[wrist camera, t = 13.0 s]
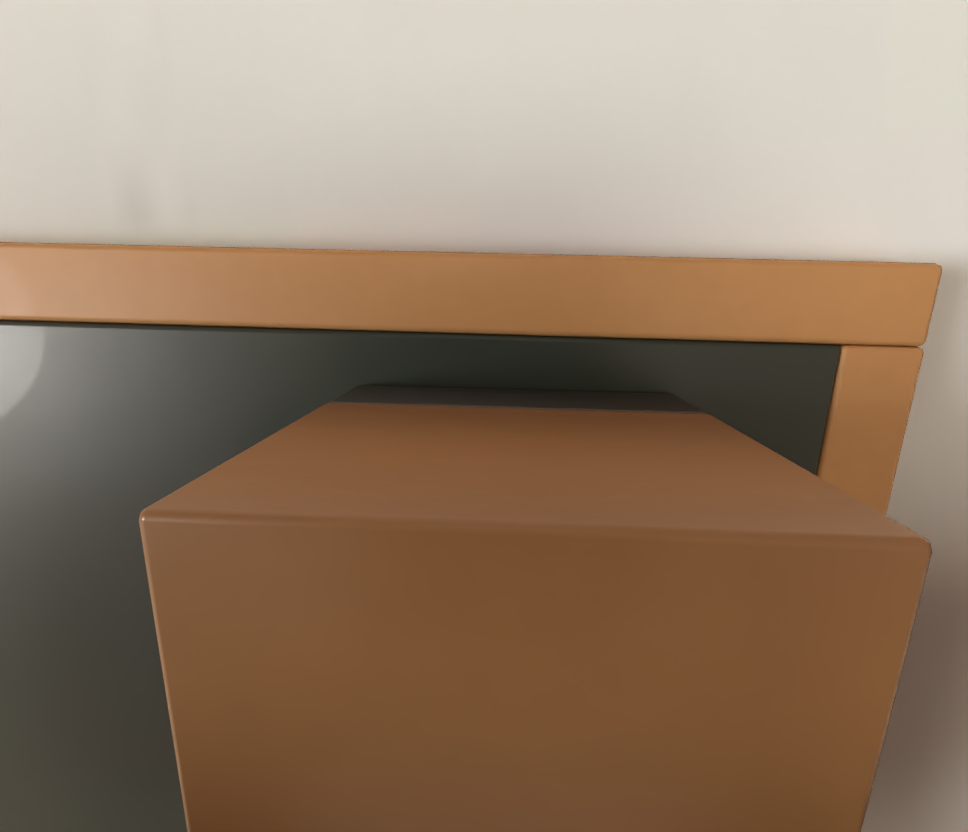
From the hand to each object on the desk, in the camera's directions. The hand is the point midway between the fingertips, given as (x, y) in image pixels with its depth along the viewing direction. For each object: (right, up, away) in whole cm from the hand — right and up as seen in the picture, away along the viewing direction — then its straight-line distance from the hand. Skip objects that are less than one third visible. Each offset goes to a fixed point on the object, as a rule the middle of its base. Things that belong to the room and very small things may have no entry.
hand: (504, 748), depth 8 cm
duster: (0, 0, +1) cm, 1 cm away
